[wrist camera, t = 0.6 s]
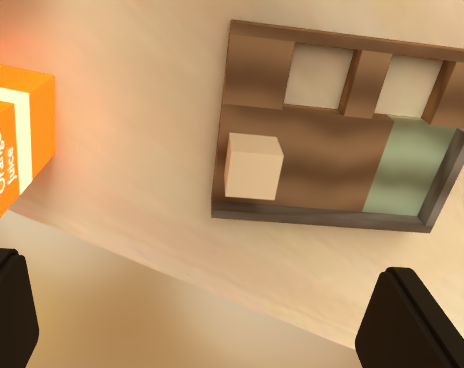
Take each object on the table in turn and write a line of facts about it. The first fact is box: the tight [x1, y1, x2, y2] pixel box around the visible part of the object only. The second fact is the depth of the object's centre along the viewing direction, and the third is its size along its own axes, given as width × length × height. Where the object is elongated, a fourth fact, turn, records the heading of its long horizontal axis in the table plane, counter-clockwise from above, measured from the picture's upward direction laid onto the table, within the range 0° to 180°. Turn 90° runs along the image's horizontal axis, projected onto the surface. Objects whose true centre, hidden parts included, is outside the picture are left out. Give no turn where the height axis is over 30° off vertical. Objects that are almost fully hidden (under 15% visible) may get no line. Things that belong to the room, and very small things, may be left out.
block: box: [224, 133, 284, 200], centre depth 38 cm, size 5×5×4 cm
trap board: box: [211, 20, 464, 233], centre depth 39 cm, size 20×26×4 cm
